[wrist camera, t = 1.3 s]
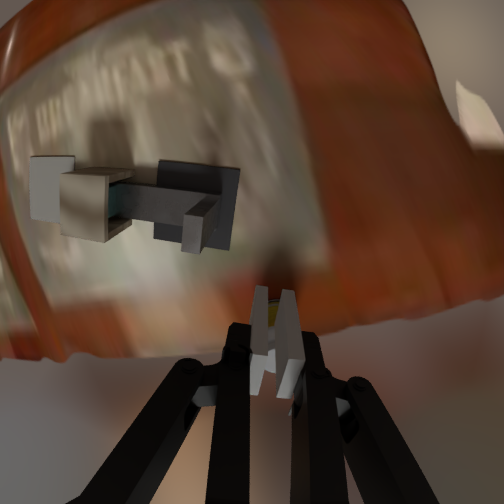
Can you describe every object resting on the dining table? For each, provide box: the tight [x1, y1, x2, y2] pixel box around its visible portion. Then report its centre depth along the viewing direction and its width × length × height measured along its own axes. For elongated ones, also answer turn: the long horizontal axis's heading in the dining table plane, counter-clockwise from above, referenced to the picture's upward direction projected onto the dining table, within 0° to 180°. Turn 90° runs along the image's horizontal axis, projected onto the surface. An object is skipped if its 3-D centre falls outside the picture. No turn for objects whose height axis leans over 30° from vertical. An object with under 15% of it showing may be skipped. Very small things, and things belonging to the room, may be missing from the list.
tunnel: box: [59, 167, 134, 243], centre depth 37 cm, size 9×8×9 cm
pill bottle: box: [265, 300, 280, 373], centre depth 41 cm, size 6×6×12 cm
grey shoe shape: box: [154, 161, 240, 251], centre depth 41 cm, size 12×12×1 cm
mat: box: [30, 157, 75, 223], centre depth 41 cm, size 12×12×1 cm
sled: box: [108, 181, 222, 254], centre depth 35 cm, size 5×26×12 cm, turn 81°
